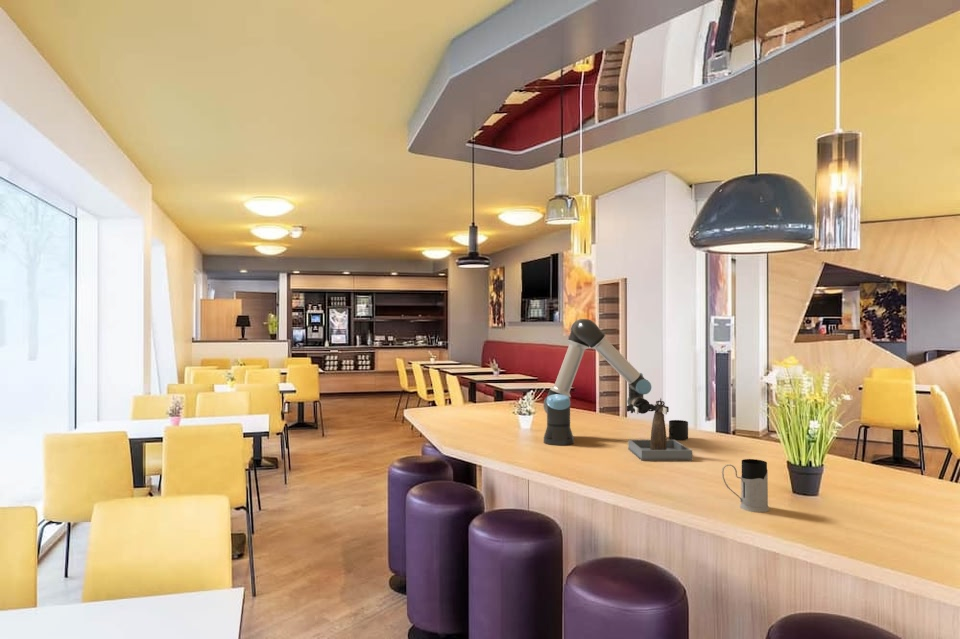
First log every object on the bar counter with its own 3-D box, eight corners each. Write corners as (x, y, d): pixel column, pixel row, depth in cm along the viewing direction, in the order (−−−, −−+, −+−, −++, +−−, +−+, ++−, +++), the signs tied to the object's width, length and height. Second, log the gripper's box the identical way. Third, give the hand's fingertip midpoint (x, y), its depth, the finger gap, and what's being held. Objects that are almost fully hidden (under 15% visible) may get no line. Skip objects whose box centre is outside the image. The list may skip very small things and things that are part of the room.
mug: (661, 439, 312) (661, 421, 312) (677, 436, 319) (676, 419, 319) (676, 441, 304) (676, 424, 305) (692, 439, 311) (691, 421, 311)
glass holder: (773, 512, 190) (772, 465, 190) (725, 510, 193) (725, 463, 193) (764, 504, 199) (764, 459, 199) (719, 502, 201) (719, 457, 201)
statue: (668, 454, 270) (665, 398, 270) (650, 454, 271) (647, 399, 272) (666, 451, 278) (663, 396, 279) (649, 451, 280) (646, 396, 281)
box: (641, 460, 263) (641, 450, 263) (628, 449, 287) (628, 439, 287) (692, 460, 263) (692, 450, 263) (674, 449, 287) (674, 439, 287)
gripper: (665, 413, 307) (678, 419, 286) (616, 412, 307) (625, 418, 286) (665, 398, 307) (678, 403, 286) (616, 397, 307) (625, 403, 286)
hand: (651, 411), depth 286 cm, fingers open, 13 cm apart
